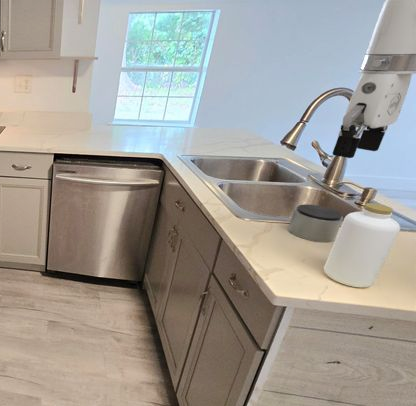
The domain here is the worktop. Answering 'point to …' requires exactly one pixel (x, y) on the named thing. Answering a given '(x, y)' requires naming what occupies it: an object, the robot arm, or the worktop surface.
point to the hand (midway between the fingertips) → (354, 152)
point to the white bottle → (362, 246)
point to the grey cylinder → (315, 223)
